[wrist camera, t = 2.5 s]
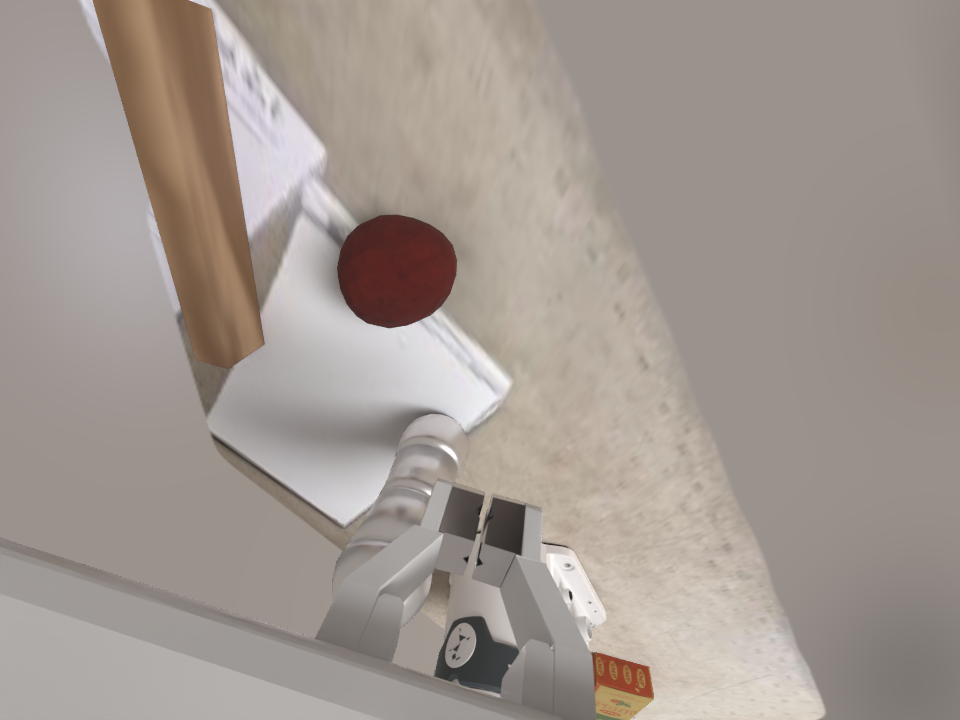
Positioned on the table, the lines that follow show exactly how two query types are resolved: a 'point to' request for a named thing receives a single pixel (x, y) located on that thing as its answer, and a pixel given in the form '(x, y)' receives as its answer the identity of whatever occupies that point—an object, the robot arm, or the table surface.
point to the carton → (620, 687)
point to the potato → (396, 270)
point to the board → (187, 165)
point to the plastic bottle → (407, 496)
